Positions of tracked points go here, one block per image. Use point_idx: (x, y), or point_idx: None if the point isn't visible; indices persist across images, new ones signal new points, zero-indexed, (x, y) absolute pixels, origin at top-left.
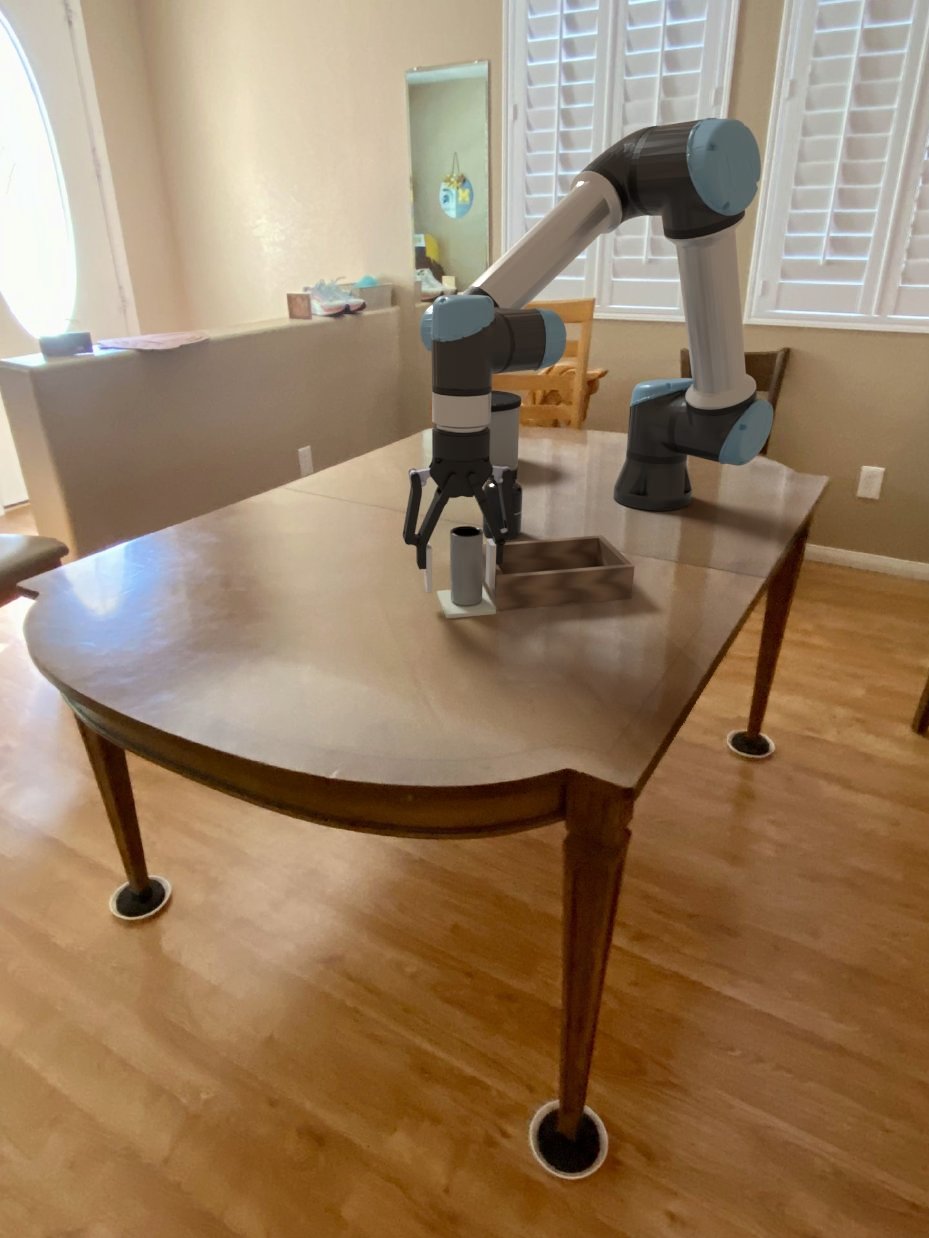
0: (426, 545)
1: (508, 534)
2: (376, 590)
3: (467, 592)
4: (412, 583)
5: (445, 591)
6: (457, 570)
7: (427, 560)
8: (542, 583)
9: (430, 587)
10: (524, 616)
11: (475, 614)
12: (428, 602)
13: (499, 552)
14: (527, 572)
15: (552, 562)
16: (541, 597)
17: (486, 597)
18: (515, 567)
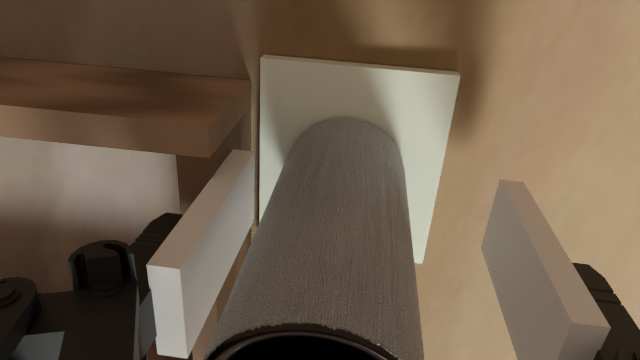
0: (621, 351)
1: (29, 305)
2: None
3: (356, 139)
4: (466, 344)
5: None
6: (396, 211)
7: (575, 276)
8: (23, 91)
9: (514, 193)
10: (161, 2)
11: (342, 62)
12: (469, 213)
13: (148, 251)
14: None
15: None
16: (65, 73)
17: (268, 168)
18: None
